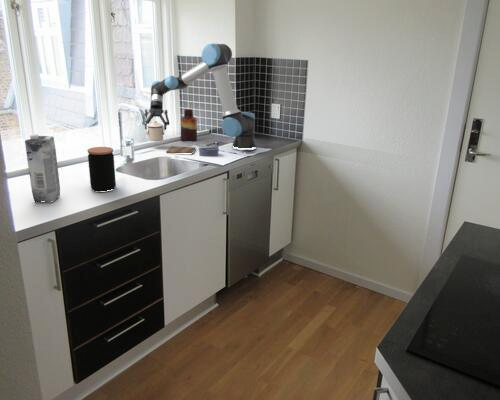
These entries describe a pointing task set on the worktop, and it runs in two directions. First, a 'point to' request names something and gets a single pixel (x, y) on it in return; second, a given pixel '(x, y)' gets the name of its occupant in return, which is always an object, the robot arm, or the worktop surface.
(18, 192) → the worktop surface
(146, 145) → the worktop surface
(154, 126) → the teacup with lid
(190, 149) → the walnut board
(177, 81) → the robot arm
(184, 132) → the vase
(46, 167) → the juice carton
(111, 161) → the coffee jar
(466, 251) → the worktop surface
